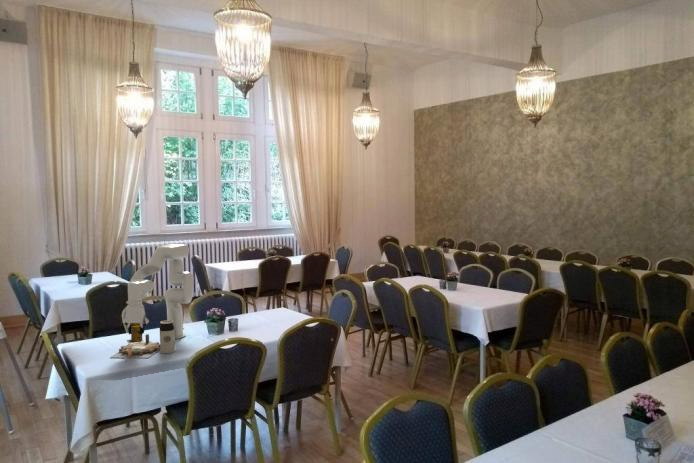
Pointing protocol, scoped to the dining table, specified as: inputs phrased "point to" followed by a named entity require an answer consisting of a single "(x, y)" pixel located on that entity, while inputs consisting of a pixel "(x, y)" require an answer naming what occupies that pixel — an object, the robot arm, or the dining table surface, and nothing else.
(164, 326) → the travel mug
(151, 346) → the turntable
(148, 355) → the turntable base
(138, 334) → the condiment
